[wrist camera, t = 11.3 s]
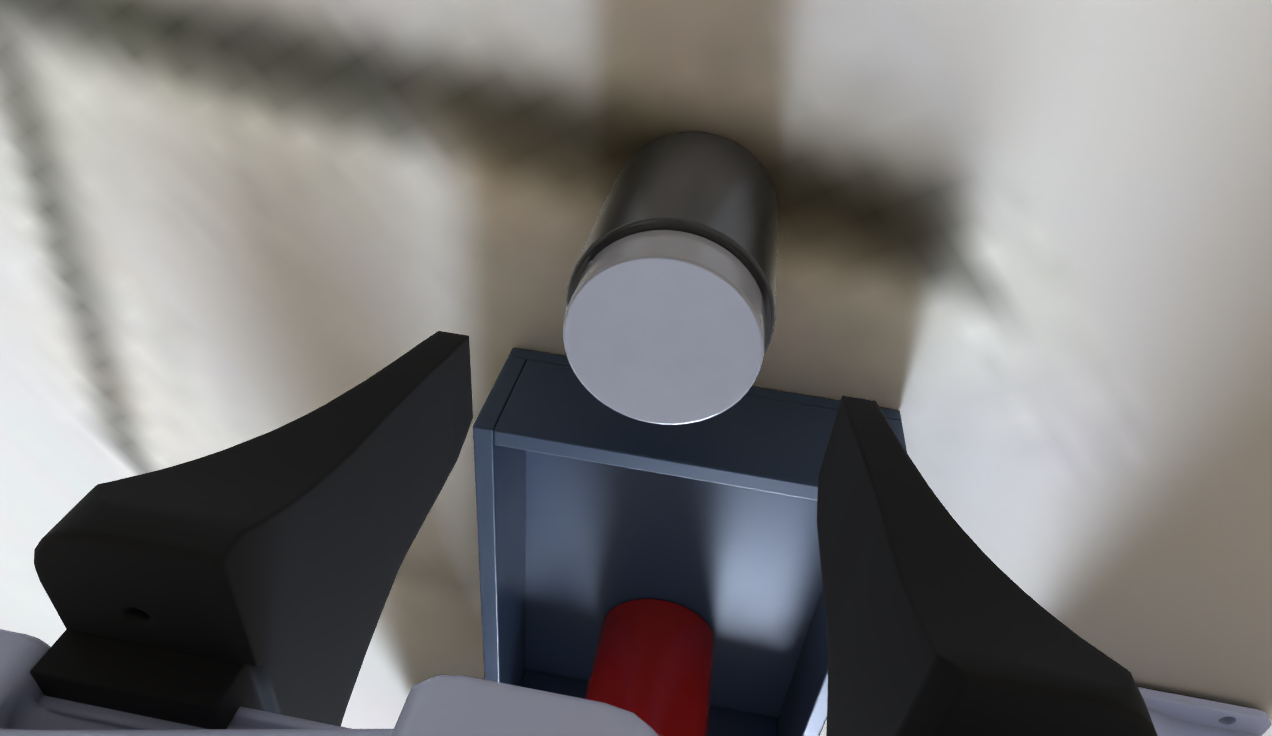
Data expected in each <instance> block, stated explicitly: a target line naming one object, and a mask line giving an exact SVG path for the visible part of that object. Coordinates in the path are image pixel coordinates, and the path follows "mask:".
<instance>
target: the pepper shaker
mask: <svg viewBox="0 0 1272 736" xmlns="http://www.w3.org/2000/svg"><path fill="white" fill-rule="evenodd" d="M777 248H778V202H777V196H776V192H775V189H774V186H773V184H772V182H771V180H770V177H769V176H768V174H767V172H766V171H765V169H764V168H763V166H762V165H761V164H760V163H759V162H758V161H757V159H756V158H755V157H754V156H752V155H751V154H750V153H749V152H748V151H747V150H745V149H744V148H742V147H741V146H739V145H738V144H736V143H734V142H732V141H730V140H728V139H726V138H723V137H720V136H717V135H713V134H708V133H701V132H681V133H675V134H670V135H667V136H664V137H661V138H658V139H656V140H654V141H652V142H650V143H648V144H646V145H645V146H643V147H642V148H640V149H639V150H638V151H637V152H636V153H634V154H633V155H632V156H631V157H630V158H629V159H628V161H627V162H626V163H625V164H624V165H623V167H622V169H621V170H620V172H619V173H618V175H617V178H616V180H615V182H614V184H613V186H612V188H611V190H610V193H609V195H608V197H607V199H606V201H605V203H604V205H603V208H602V210H601V212H600V214H599V216H598V218H597V220H596V223H595V225H594V227H593V229H592V231H591V233H590V235H589V238H588V240H587V242H586V244H585V246H584V248H583V251H582V253H581V255H580V257H579V259H578V261H577V263H576V266H575V268H574V270H573V272H572V274H571V278H570V281H569V285H568V291H567V309H566V313H565V316H564V322H563V342H564V347H565V352H566V355H567V358H568V360H569V363H570V365H571V367H572V369H573V371H574V373H575V374H576V376H577V377H578V379H579V380H580V382H581V383H582V384H583V385H584V387H585V388H586V389H587V390H588V391H589V392H590V393H591V394H592V395H593V396H594V397H596V398H597V399H598V400H599V401H601V402H602V403H603V404H605V405H606V406H608V407H610V408H611V409H613V410H615V411H617V412H619V413H621V414H623V415H625V416H628V417H630V418H633V419H636V420H640V421H644V422H648V423H654V424H663V425H680V424H689V423H694V422H699V421H703V420H706V419H709V418H712V417H714V416H716V415H718V414H720V413H722V412H724V411H726V410H727V409H729V408H730V407H732V406H733V405H734V404H736V403H737V402H738V401H739V400H740V399H741V398H742V397H743V396H744V395H745V394H746V393H747V392H748V391H749V389H750V388H751V386H752V385H753V384H754V382H755V380H756V378H757V376H758V374H759V372H760V369H761V366H762V362H763V357H764V354H765V352H766V350H767V348H768V346H769V344H770V341H771V338H772V335H773V331H774V325H775V314H776V281H777Z"/></svg>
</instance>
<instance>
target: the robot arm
mask: <svg viewBox="0 0 1272 736" xmlns="http://www.w3.org/2000/svg"><path fill="white" fill-rule="evenodd" d="M472 418H473V410H472V389H471V368H470V348H469V336H467V335H460V334H454V333H448V332H442V331H438V332H436V333H435V334H433V335H432V336H430V337H429V338H427V339H426V340H424V341H423V342H421V343H420V344H419V345H417V346H416V347H414V348H413V349H411V350H410V351H409V352H407V353H406V354H404V355H403V356H401V357H400V358H398V359H397V360H396V361H394V362H393V363H391V364H390V365H388V366H387V367H385V368H384V369H382V370H381V371H379V372H378V373H376V374H375V375H373V376H372V377H370V378H369V379H367V380H366V381H364V382H362V383H361V384H359V385H357V386H356V387H354V388H352V389H351V390H349V391H347V392H346V393H344V394H342V395H341V396H339V397H337V398H336V399H334V400H332V401H331V402H329V403H327V404H326V405H324V406H322V407H320V408H318V409H316V410H314V411H313V412H311V413H309V414H307V415H305V416H303V417H301V418H299V419H297V420H295V421H292V422H290V423H288V424H286V425H284V426H282V427H280V428H278V429H275V430H273V431H271V432H269V433H266V434H264V435H261V436H259V437H256V438H254V439H251V440H248V441H246V442H243V443H241V444H238V445H236V446H233V447H231V448H228V449H226V450H223V451H220V452H217V453H214V454H211V455H208V456H205V457H202V458H199V459H196V460H193V461H189V462H186V463H183V464H179V465H176V466H173V467H169V468H165V469H162V470H158V471H154V472H150V473H146V474H141V475H137V476H133V477H129V478H125V479H120V480H116V481H112V482H107V483H102V484H98V485H96V486H95V487H94V488H93V489H92V490H91V491H90V492H89V493H88V494H87V495H86V496H85V497H84V498H83V499H82V500H81V501H80V502H79V503H78V504H77V505H76V506H75V507H74V508H73V509H72V510H71V511H70V512H69V513H68V514H67V515H66V516H65V517H64V518H63V519H62V520H61V521H60V522H58V523H57V524H56V525H55V526H54V527H53V528H52V529H51V530H50V531H49V532H48V533H47V534H46V535H45V536H44V537H43V538H42V539H41V541H40V542H39V544H38V545H37V547H36V548H35V552H34V564H35V569H36V571H37V574H38V577H39V579H40V582H41V583H42V585H43V587H44V589H45V591H46V593H47V594H48V596H49V598H50V600H51V602H52V603H53V605H54V607H55V609H56V611H57V612H58V614H59V616H60V618H61V620H62V621H63V623H64V625H65V627H66V629H67V630H66V631H65V632H64V633H63V634H62V635H61V636H60V638H59V639H58V640H57V641H56V642H55V643H54V644H53V646H52V647H50V646H49V645H48V644H46V643H45V642H43V641H41V640H40V639H38V638H35V637H33V636H30V635H26V634H21V633H16V632H11V631H6V630H1V629H0V736H658V734H657V733H656V732H655V731H654V730H653V729H652V728H651V727H650V726H649V725H648V724H646V723H645V722H644V721H643V720H641V719H640V718H639V717H638V716H637V715H635V714H634V713H632V712H629V711H627V710H624V709H621V708H618V707H615V706H612V705H609V704H607V703H603V702H598V701H592V700H587V699H582V698H577V697H572V696H567V695H562V694H556V693H551V692H546V691H541V690H536V689H531V688H525V687H520V686H515V685H510V684H505V683H500V682H495V681H489V680H484V679H479V678H474V677H469V676H451V675H438V676H434V677H432V678H430V679H427V680H425V681H423V682H420V683H418V684H416V685H413V686H412V688H411V690H410V692H409V695H408V697H407V699H406V702H405V704H404V707H403V709H402V711H401V714H400V716H399V718H398V721H397V723H396V725H395V728H394V729H350V728H345V727H340V726H341V723H342V720H343V717H344V714H345V711H346V708H347V705H348V702H349V699H350V696H351V693H352V691H353V688H354V685H355V682H356V679H357V677H358V674H359V671H360V668H361V665H362V663H363V660H364V657H365V654H366V652H367V649H368V646H369V644H370V641H371V639H372V636H373V633H374V631H375V628H376V626H377V623H378V620H379V618H380V615H381V613H382V610H383V607H384V605H385V603H386V600H387V598H388V595H389V593H390V590H391V588H392V585H393V583H394V581H395V578H396V576H397V573H398V571H399V568H400V566H401V564H402V562H403V560H404V558H405V556H406V554H407V552H408V550H409V548H410V546H411V544H412V542H413V540H414V539H415V537H416V535H417V533H418V531H419V529H420V528H421V526H422V524H423V522H424V520H425V518H426V517H427V515H428V513H429V511H430V509H431V508H432V506H433V504H434V502H435V500H436V498H437V497H438V495H439V493H440V491H441V489H442V487H443V486H444V484H445V482H446V480H447V478H448V476H449V474H450V472H451V471H452V469H453V467H454V465H455V463H456V461H457V459H458V456H459V454H460V451H461V448H462V446H463V443H464V441H465V438H466V435H467V432H468V430H469V427H470V424H471V421H472ZM817 530H818V541H819V552H820V562H821V572H822V582H823V592H824V602H825V612H826V621H827V638H828V696H827V736H1261V735H1262V734H1263V733H1264V732H1265V731H1266V730H1267V729H1268V728H1269V727H1270V725H1271V721H1270V720H1269V718H1268V716H1267V714H1266V713H1265V712H1264V711H1261V710H1258V709H1253V708H1248V707H1243V706H1237V705H1232V704H1226V703H1221V702H1216V701H1210V700H1205V699H1199V698H1194V697H1189V696H1183V695H1178V694H1172V693H1167V692H1162V691H1156V690H1151V689H1146V688H1140V687H1137V685H1136V683H1135V681H1134V679H1133V677H1132V675H1131V673H1130V671H1128V670H1127V669H1125V668H1124V667H1122V666H1121V665H1120V664H1118V663H1117V662H1115V661H1114V660H1112V659H1111V658H1110V657H1108V656H1107V655H1105V654H1104V653H1102V652H1101V651H1099V650H1098V649H1097V648H1095V647H1094V646H1092V645H1091V644H1089V643H1088V642H1087V641H1085V640H1084V639H1082V638H1081V637H1079V636H1078V635H1077V634H1075V633H1074V632H1073V631H1071V630H1070V629H1069V628H1068V627H1066V626H1065V625H1064V624H1063V623H1061V622H1060V621H1059V620H1058V619H1056V618H1055V617H1054V616H1052V615H1051V614H1050V613H1049V612H1047V611H1046V610H1045V609H1044V608H1043V607H1041V606H1040V605H1039V604H1038V603H1037V602H1036V601H1034V600H1033V599H1032V598H1031V597H1030V596H1028V595H1027V594H1026V593H1025V592H1024V591H1023V590H1022V589H1021V588H1020V587H1019V586H1017V585H1016V584H1015V583H1014V582H1013V581H1012V580H1011V579H1010V578H1009V577H1008V576H1007V575H1006V574H1005V573H1004V572H1002V571H1001V570H1000V569H999V568H998V567H997V566H996V565H995V564H994V563H993V562H992V561H991V560H990V559H989V558H988V557H987V556H986V555H985V554H984V553H983V551H982V550H981V549H980V548H979V547H978V546H977V545H976V544H975V543H974V542H973V540H972V539H971V538H970V537H969V536H968V535H967V534H966V533H965V532H964V531H963V529H962V528H961V527H960V526H959V525H958V524H957V522H956V521H955V520H954V519H953V518H952V516H951V515H950V514H949V513H948V511H947V510H946V509H945V507H944V506H943V505H942V503H941V502H940V501H939V499H938V498H937V497H936V495H935V494H934V493H933V491H932V490H931V488H930V487H929V486H928V484H927V483H926V481H925V480H924V478H923V477H922V475H921V474H920V472H919V471H918V469H917V468H916V466H915V465H914V463H913V462H912V460H911V459H910V457H909V455H908V454H907V452H906V451H905V449H904V447H903V446H902V444H901V443H900V441H899V439H898V438H897V436H896V434H895V433H894V431H893V429H892V428H891V426H890V424H889V422H888V421H887V419H886V417H885V415H884V414H883V412H882V410H881V409H880V407H879V405H878V404H877V403H876V401H872V400H866V399H859V398H853V397H847V396H842V399H841V402H840V406H839V409H838V412H837V416H836V419H835V422H834V425H833V429H832V432H831V435H830V439H829V442H828V445H827V449H826V452H825V455H824V459H823V462H822V465H821V469H820V472H819V475H818V497H817Z"/></svg>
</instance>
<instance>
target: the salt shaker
mask: <svg viewBox="0 0 1272 736" xmlns="http://www.w3.org/2000/svg"><path fill="white" fill-rule="evenodd" d="M714 654H715V637H714V634H713V632H712V629H711V628H710V626H709V625H708V623H707V622H706V621H705V620H704V619H703V618H702V617H701V616H699V615H698V614H697V613H695V612H694V611H692V610H690V609H688V608H686V607H684V606H682V605H679V604H677V603H673V602H670V601H665V600H659V599H636V600H631V601H627V602H624V603H621V604H619V605H617V606H615V607H614V608H612V609H611V610H610V611H609V612H608V613H607V614H606V616H605V617H604V619H603V621H602V624H601V629H600V633H599V637H598V642H597V646H596V650H595V655H594V659H593V663H592V668H591V672H590V676H589V681H588V685H587V689H586V694H585V698H584V699H587V700H592V701H598V702H603V703H607V704H609V705H612V706H615V707H618V708H621V709H624V710H627V711H629V712H632V713H634V714H635V715H637V716H638V717H639V718H640V719H641V720H643V721H644V722H645V723H646V724H648V725H649V726H650V727H651V728H652V729H653V730H654V731H655V732H656V733H657V734H658V736H707V732H708V721H709V710H710V699H711V688H712V677H713V666H714Z"/></svg>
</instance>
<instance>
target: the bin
mask: <svg viewBox="0 0 1272 736" xmlns="http://www.w3.org/2000/svg"><path fill="white" fill-rule="evenodd" d="M840 402H841V401H837V400H831V399H825V398H819V397H813V396H807V395H801V394H795V393H788V392H782V391H776V390H770V389H764V388H758V387H752V386H751V388H750V389H749V391H748V392H747V393H746V394H745V395H744V396H743V397H742V398H741V399H740V400H739V401H738V402H737V403H736V404H734V405H733V406H732V407H730V408H729V409H727V410H726V411H724V412H722V413H720V414H718V415H716V416H714V417H712V418H709V419H706V420H703V421H699V422H694V423H689V424H680V425H663V424H654V423H648V422H644V421H640V420H636V419H633V418H630V417H628V416H625V415H623V414H621V413H619V412H617V411H615V410H613V409H611V408H610V407H608V406H606V405H605V404H603V403H602V402H601V401H599V400H598V399H597V398H596V397H594V396H593V395H592V394H591V393H590V392H589V391H588V390H587V389H586V388H585V387H584V385H583V384H582V383H581V382H580V380H579V379H578V377H577V376H576V374H575V373H574V371H573V369H572V367H571V365H570V363H569V360H568V358H567V356H562V355H555V354H549V353H543V352H537V351H531V350H525V349H519V348H513V349H512V351H511V353H510V354H509V357H508V358H507V360H506V362H505V364H504V366H503V368H502V370H501V372H500V374H499V376H498V378H497V380H496V382H495V384H494V386H493V388H492V390H491V392H490V394H489V396H488V398H487V400H486V402H485V404H484V406H483V407H482V409H481V411H480V413H479V415H478V417H477V419H476V421H475V423H474V425H473V440H474V461H475V483H476V504H477V526H478V548H479V569H480V591H481V612H482V634H483V656H484V677H485V680H489V681H495V682H500V683H505V684H510V685H515V686H520V687H525V688H531V689H536V690H541V691H546V692H551V693H556V694H562V695H567V696H572V697H577V698H582V699H584V698H585V694H586V689H587V685H588V681H589V676H590V672H591V668H592V663H593V659H594V655H595V650H596V646H597V642H598V637H599V633H600V629H601V624H602V621H603V619H604V617H605V616H606V614H607V613H608V612H609V611H610V610H611V609H612V608H614V607H615V606H617V605H619V604H621V603H624V602H627V601H631V600H636V599H659V600H665V601H670V602H673V603H677V604H679V605H682V606H684V607H686V608H688V609H690V610H692V611H694V612H695V613H697V614H698V615H699V616H701V617H702V618H703V619H704V620H705V621H706V622H707V623H708V625H709V626H710V628H711V629H712V632H713V634H714V637H715V654H714V666H713V677H712V688H711V699H710V710H709V721H708V732H707V736H820V733H821V731H822V728H823V726H824V724H825V721H826V719H827V696H828V638H827V621H826V612H825V602H824V592H823V582H822V572H821V562H820V552H819V541H818V530H817V497H818V475H819V472H820V469H821V465H822V462H823V459H824V455H825V452H826V449H827V445H828V442H829V439H830V435H831V432H832V429H833V425H834V422H835V419H836V416H837V412H838V409H839V406H840ZM880 409H881V410H882V412H883V414H884V415H885V417H886V419H887V421H888V422H889V424H890V426H891V428H892V429H893V431H894V433H895V434H896V436H897V438H898V439H899V441H900V443H901V444H902V446H903V447H904V449H905V451H906V452H907V450H906V445H905V439H904V434H903V428H902V422H901V416H900V411H898V410H893V409H887V408H880Z"/></svg>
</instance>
